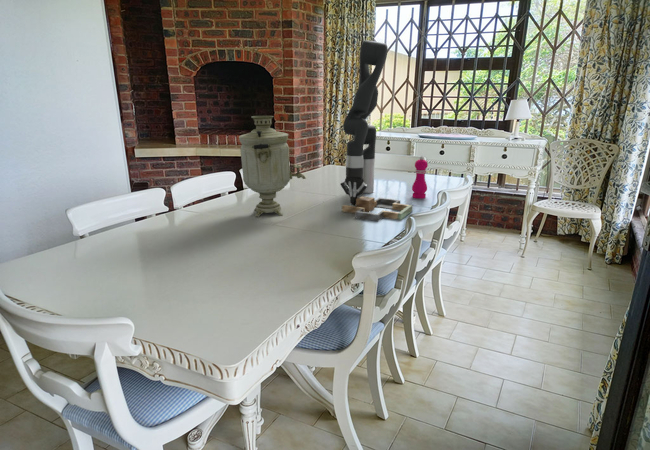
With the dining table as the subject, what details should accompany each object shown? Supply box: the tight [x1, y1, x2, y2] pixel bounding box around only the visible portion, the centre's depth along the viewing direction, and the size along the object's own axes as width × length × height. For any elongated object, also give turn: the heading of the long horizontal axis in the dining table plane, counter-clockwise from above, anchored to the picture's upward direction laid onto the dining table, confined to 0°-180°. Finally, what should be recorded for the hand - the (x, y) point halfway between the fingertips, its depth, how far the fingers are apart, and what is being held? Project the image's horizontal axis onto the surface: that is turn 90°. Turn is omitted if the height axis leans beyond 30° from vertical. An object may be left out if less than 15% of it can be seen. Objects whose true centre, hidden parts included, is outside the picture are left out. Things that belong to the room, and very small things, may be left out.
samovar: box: [238, 115, 307, 218], centre depth 173 cm, size 30×26×40 cm
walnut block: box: [355, 195, 376, 213], centre depth 184 cm, size 6×6×5 cm
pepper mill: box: [411, 155, 429, 200], centre depth 203 cm, size 7×7×20 cm
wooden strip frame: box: [341, 197, 413, 222], centre depth 182 cm, size 26×27×2 cm
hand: (353, 204), depth 187 cm, fingers closed
